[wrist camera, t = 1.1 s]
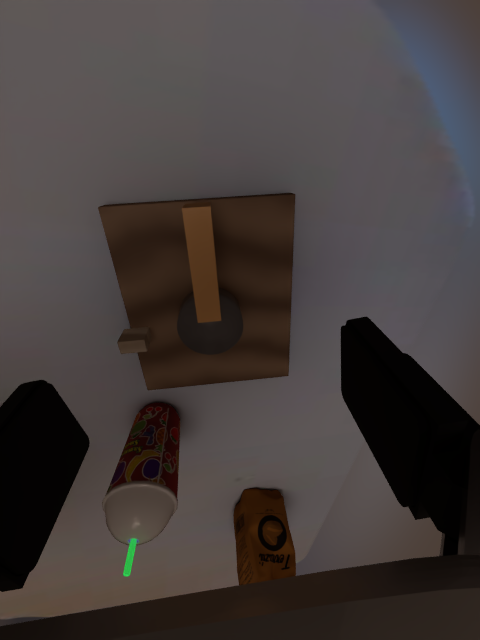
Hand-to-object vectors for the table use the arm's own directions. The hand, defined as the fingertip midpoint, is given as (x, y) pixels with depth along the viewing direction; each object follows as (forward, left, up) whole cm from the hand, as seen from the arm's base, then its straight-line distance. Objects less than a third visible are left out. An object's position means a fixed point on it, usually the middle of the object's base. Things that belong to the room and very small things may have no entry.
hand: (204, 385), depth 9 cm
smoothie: (-28, +11, -26) cm, 40 cm away
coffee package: (-56, -4, -26) cm, 62 cm away
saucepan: (-4, +1, -22) cm, 23 cm away
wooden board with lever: (-9, +1, -26) cm, 28 cm away
